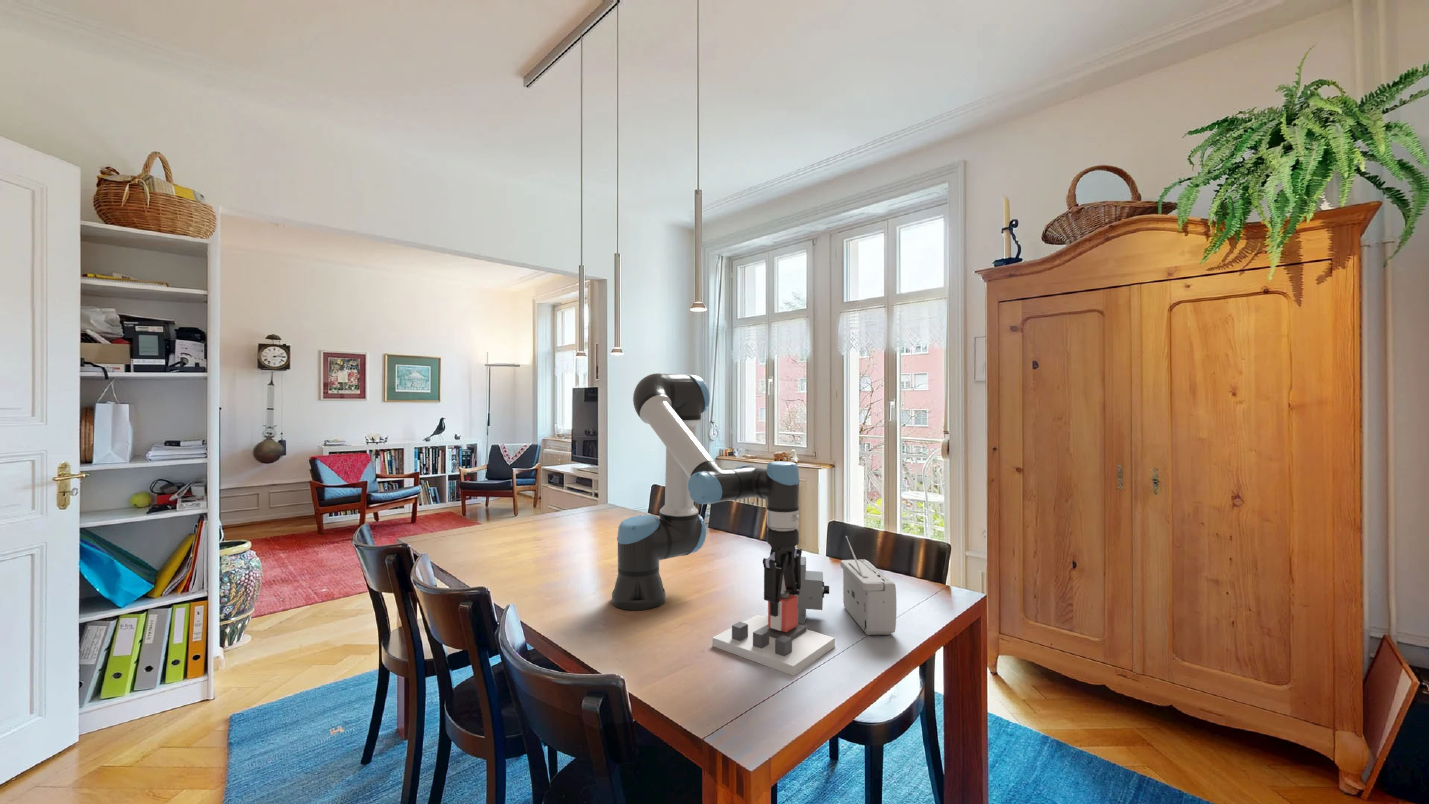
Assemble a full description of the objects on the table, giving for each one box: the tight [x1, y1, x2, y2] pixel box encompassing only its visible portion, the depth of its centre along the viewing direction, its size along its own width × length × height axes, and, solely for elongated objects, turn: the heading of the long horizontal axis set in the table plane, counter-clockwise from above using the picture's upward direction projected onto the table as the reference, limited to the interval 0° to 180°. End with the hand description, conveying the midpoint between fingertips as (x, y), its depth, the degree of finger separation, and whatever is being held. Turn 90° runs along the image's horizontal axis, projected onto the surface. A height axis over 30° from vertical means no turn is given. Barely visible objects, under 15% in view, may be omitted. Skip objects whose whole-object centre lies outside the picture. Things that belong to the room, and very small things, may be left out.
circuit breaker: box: [776, 556, 830, 624], centre depth 148 cm, size 8×14×15 cm, turn 78°
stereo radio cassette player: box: [840, 535, 897, 636], centre depth 146 cm, size 21×8×20 cm, turn 4°
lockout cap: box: [767, 591, 798, 632], centre depth 134 cm, size 5×5×8 cm
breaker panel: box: [711, 614, 836, 676], centre depth 131 cm, size 22×18×5 cm
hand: (782, 624), depth 134 cm, fingers closed on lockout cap, 5 cm apart
